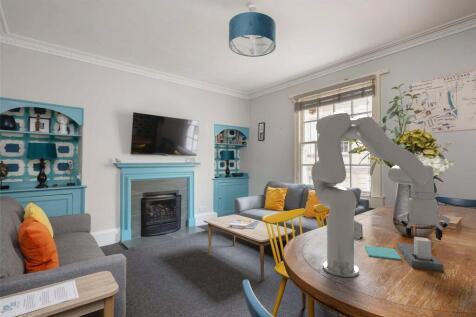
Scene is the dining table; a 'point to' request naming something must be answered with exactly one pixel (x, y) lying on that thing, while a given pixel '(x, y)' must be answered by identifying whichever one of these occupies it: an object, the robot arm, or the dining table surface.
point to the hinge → (357, 230)
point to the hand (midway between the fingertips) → (423, 238)
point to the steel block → (422, 249)
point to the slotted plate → (408, 254)
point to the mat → (382, 252)
